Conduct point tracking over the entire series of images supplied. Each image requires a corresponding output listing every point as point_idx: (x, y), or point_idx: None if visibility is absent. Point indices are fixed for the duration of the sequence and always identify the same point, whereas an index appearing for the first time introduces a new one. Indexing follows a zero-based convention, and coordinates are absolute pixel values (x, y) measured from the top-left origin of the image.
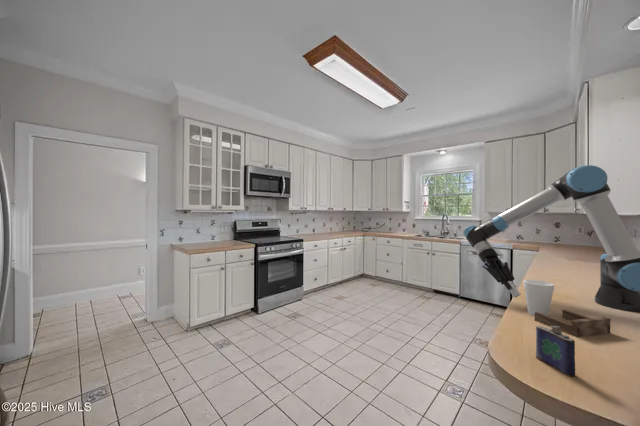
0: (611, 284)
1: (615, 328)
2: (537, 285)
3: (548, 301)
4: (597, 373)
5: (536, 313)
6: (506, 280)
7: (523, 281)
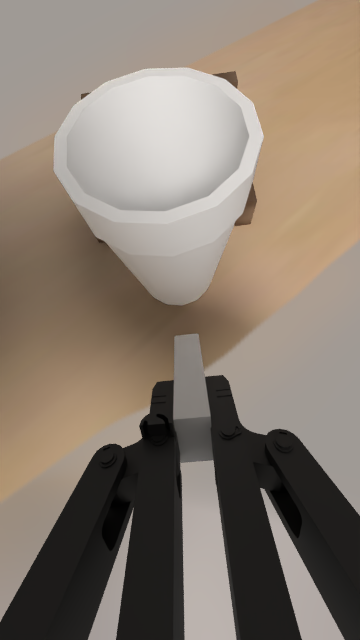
0: None
1: (41, 167)
2: (230, 92)
3: (167, 183)
4: (350, 18)
5: (254, 196)
6: (229, 424)
7: (217, 215)
